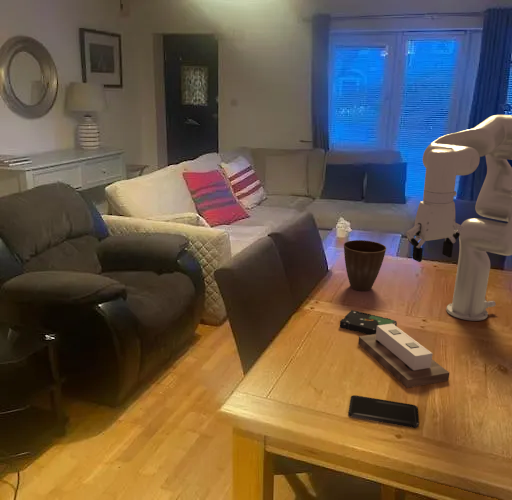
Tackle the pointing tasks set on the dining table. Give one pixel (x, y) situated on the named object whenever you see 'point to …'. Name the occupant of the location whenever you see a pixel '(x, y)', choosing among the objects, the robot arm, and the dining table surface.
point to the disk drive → (364, 322)
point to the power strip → (404, 347)
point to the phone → (384, 411)
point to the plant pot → (363, 263)
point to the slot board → (402, 365)
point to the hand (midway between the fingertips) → (432, 258)
